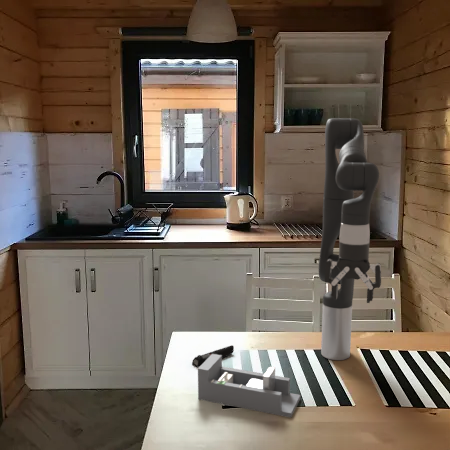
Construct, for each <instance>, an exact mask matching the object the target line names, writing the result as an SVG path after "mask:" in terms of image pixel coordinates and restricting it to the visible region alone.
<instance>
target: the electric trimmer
mask: <svg viewBox="0 0 450 450" xmlns="http://www.w3.org/2000/svg"><path fill="white" fill-rule="evenodd" d="M234 351H235V349H234V345H229V346H225V347H222V348H220V349H216V350H214V351H210V352H206V353H205V354H202V355H201V354H198V355H197V356H195V357H194V358H193V360H192V362H191V364H192V366H193V367H195V368H199V367H200V366H201V365H202V364H203V363H204V362H205V361H206V360H207V359H208V358H209V357H210V355H211V354H217V355H222V359H224V358H225V357H227V356H229V355H230V356H231V354H233V353H234Z"/></svg>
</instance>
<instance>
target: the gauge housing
mask: <svg viewBox="0 0 450 450" xmlns="http://www.w3.org/2000/svg"><path fill="white" fill-rule="evenodd" d="M225 372H228V373H229V374H233V383H227V382H226V381H221V382H220V383H219V382H218V380H219V379H220V377H221V376H222V375H223V374H224V373H225ZM264 374H265V373H261V372H257V371H256V372H255V371H251V370H250V371H249V370H244V369H238V368H233V367H228V366H223V358H222V355H217V354H211V355H210V357H209V358H208V359H207V360H206V361H205V362H204V363H203V364H202V365H201V366H200V367H197V392H198V393H197V395H198V397H197V399H198V400H199V401H200V400H202V401H204V402H205V401H206V402H211V403H217V404H221V405H226V406H231V407H236V408H240V409H241V408H242V409H245V410H250V411H251V410H252V411H257V412H262V413H267V414H272V415H276V416H282V417H286V418H292V417H293V415H294V413H295V410H296V408H297V407H298V405H299V403H300V401H301V394H298V393H291V391H290V390H291V389H290V388H291V387H290V386H291V378H290V377H286V376H281V375H280V376H279V375H275V389H274V390H273V391H271V390H266V389H260V388H255V387H249V386H246V385H247V384H248V382H249V381H250V380H251V378H258V379H263V375H264Z"/></svg>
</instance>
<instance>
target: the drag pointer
mask: <svg viewBox="0 0 450 450" xmlns="http://www.w3.org/2000/svg"><path fill="white" fill-rule="evenodd" d="M221 381H226V382H227V383H233V374H229V373H228V372H225V373H224V374H223V375H222V376H221V377H220V379H219V380H218V382H219V383H220V382H221Z"/></svg>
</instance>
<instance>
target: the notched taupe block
mask: <svg viewBox="0 0 450 450" xmlns="http://www.w3.org/2000/svg"><path fill="white" fill-rule="evenodd" d="M263 374H264V375H263V379H258V378H251V380H250V381H249V382H248V384H247V385H246V386H249V387H255V388H260V389H266V390H271V391H273V390H274V389H275V376H276V367H274V366H269V367H268V368H267V369H266V371H265V373H263Z"/></svg>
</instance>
